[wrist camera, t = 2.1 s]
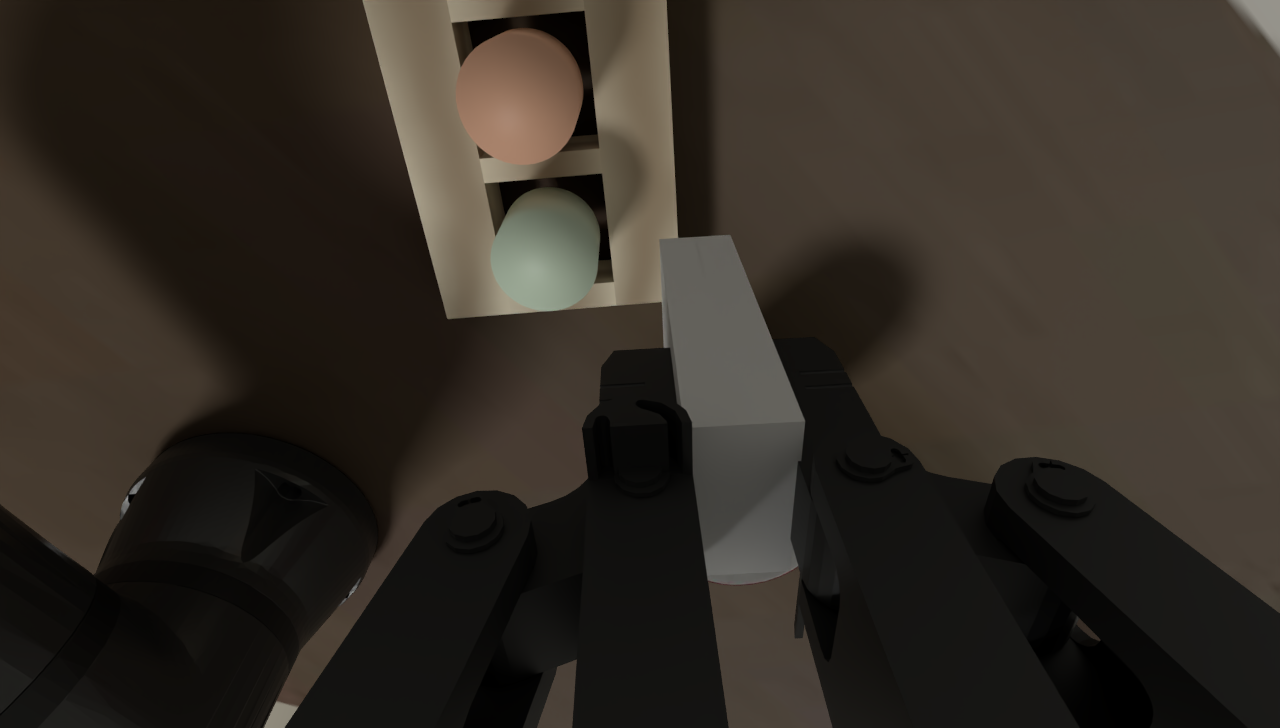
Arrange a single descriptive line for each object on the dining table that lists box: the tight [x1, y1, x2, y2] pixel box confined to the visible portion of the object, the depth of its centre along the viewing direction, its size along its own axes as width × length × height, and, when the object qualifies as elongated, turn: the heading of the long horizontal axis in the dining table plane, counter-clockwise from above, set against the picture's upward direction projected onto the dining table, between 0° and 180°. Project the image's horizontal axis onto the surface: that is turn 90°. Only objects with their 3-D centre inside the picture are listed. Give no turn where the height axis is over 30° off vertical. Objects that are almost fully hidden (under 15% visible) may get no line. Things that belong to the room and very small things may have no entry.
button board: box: [363, 0, 678, 319], centre depth 28 cm, size 12×21×3 cm, turn 4°
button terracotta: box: [456, 28, 583, 165], centre depth 26 cm, size 5×5×4 cm
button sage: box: [491, 187, 600, 311], centre depth 29 cm, size 5×5×4 cm
